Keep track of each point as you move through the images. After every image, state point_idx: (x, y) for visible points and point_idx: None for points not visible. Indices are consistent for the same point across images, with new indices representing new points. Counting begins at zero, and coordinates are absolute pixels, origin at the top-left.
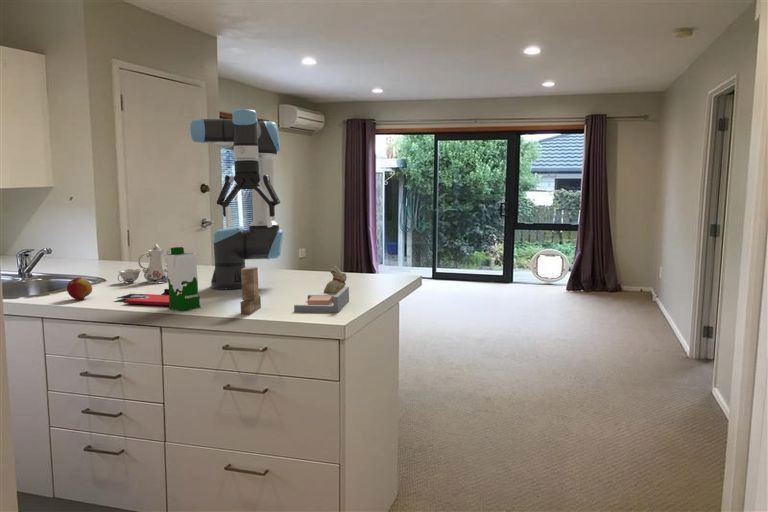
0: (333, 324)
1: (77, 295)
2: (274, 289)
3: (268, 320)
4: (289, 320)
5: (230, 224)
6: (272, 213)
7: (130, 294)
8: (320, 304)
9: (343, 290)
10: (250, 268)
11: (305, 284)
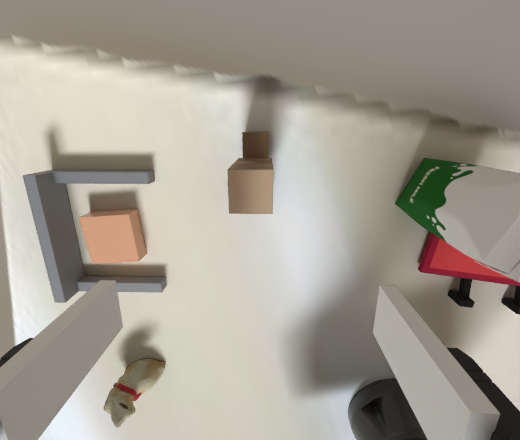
0: (10, 45)
1: None
2: (282, 384)
3: (178, 74)
4: (129, 79)
5: (381, 325)
6: (9, 356)
7: None
8: (104, 213)
9: (46, 257)
10: (244, 186)
11: (232, 430)
